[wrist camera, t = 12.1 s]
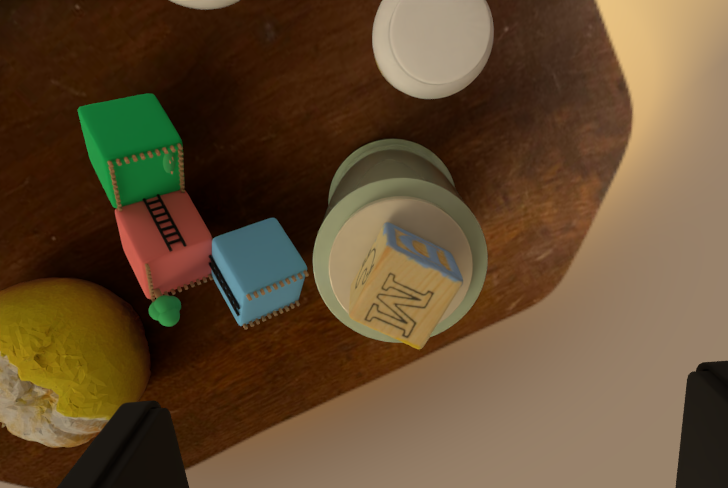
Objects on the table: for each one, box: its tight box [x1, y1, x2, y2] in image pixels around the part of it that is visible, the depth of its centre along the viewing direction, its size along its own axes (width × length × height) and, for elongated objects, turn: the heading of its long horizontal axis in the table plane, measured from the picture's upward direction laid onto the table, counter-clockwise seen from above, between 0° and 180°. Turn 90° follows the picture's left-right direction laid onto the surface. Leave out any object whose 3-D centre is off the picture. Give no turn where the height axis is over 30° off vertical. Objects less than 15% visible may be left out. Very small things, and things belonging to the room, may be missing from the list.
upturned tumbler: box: [313, 138, 488, 342], centre depth 27 cm, size 8×8×12 cm
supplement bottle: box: [372, 0, 494, 99], centre depth 25 cm, size 5×5×10 cm
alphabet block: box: [349, 222, 463, 349], centre depth 20 cm, size 3×3×3 cm
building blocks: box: [78, 94, 309, 330], centre depth 29 cm, size 8×8×12 cm
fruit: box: [0, 277, 151, 447], centre depth 33 cm, size 11×10×8 cm
